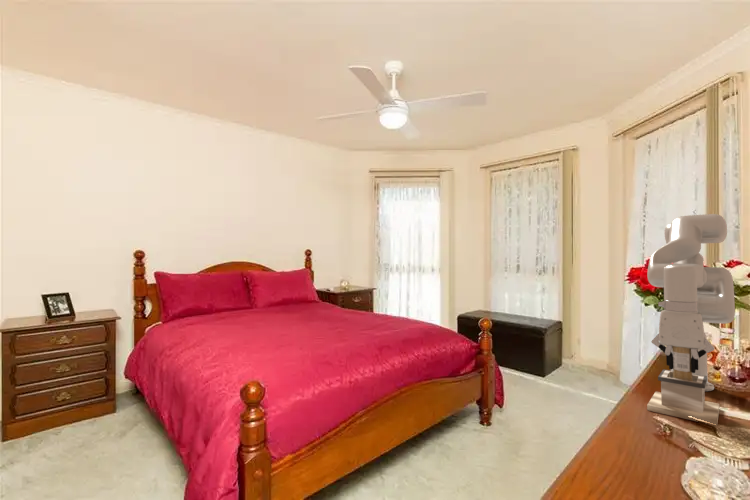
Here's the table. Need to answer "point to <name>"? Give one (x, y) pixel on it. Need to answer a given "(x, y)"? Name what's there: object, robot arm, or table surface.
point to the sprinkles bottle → (682, 363)
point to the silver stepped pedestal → (683, 398)
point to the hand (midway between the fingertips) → (682, 369)
